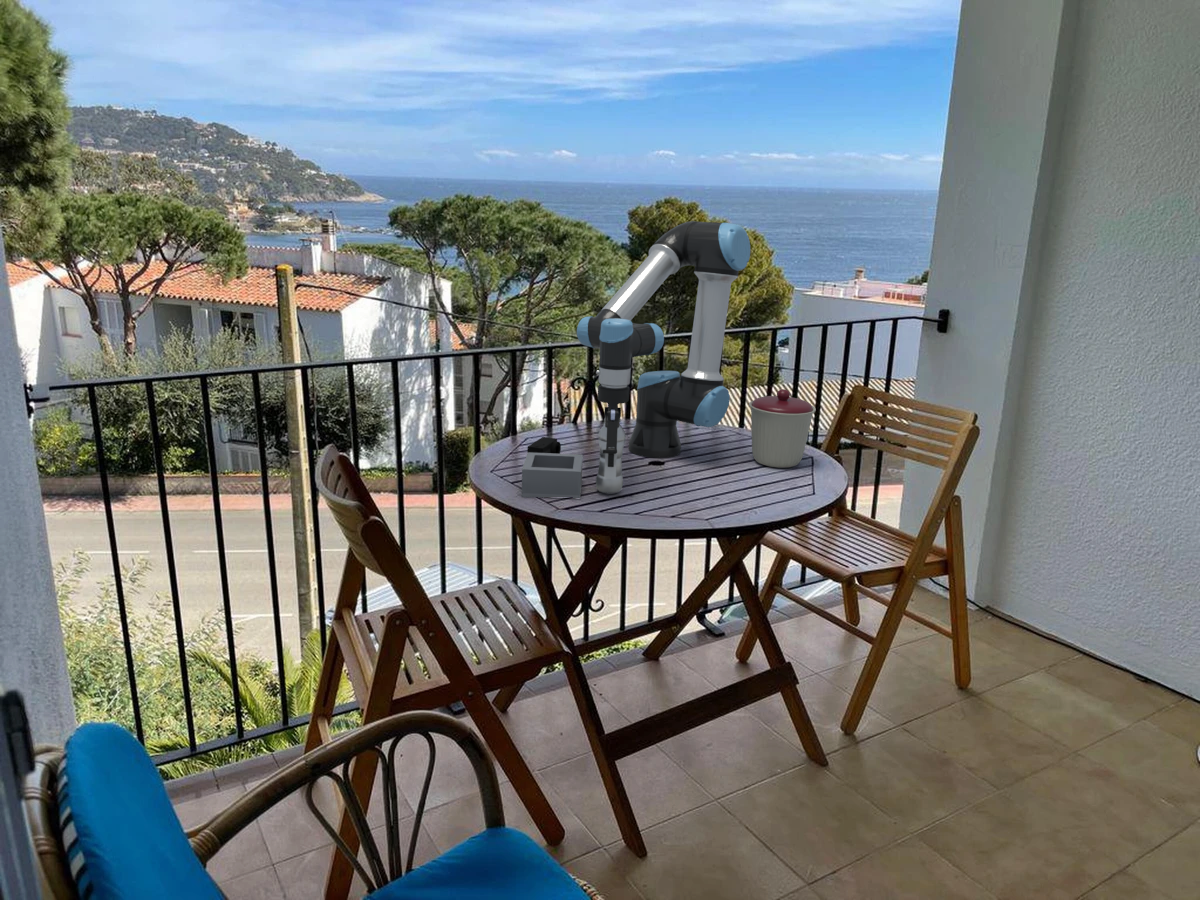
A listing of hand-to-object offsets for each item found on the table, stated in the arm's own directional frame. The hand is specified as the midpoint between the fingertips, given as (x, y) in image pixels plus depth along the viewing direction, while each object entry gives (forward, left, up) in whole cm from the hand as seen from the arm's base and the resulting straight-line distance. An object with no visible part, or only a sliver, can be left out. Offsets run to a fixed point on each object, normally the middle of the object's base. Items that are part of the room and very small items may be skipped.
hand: (610, 470), depth 208 cm
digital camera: (+17, -18, -6) cm, 26 cm away
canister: (-47, -31, -6) cm, 57 cm away
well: (+14, -1, -6) cm, 15 cm away
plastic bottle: (0, 0, -6) cm, 6 cm away
